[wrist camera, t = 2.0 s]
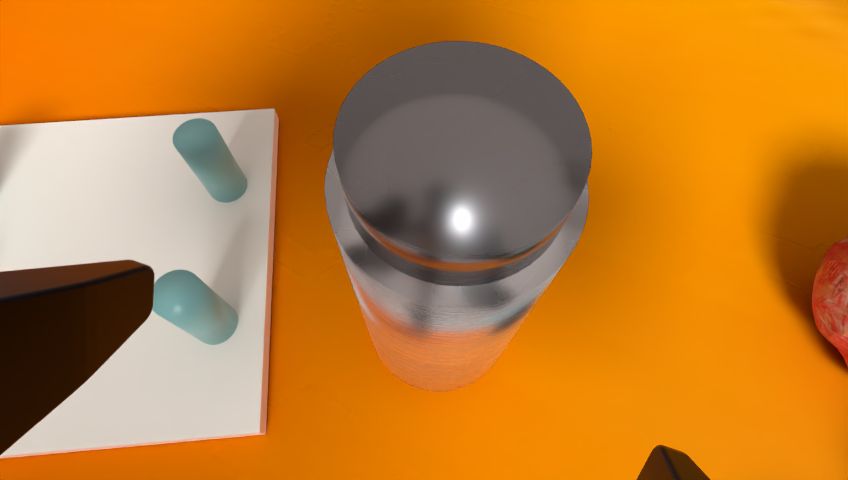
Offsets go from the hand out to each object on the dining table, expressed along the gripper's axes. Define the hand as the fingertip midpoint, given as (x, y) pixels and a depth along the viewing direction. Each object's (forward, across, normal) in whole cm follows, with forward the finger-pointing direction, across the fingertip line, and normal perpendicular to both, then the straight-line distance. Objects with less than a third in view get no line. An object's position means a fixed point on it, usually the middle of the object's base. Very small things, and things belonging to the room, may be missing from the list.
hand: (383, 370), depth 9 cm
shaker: (+10, 0, +5) cm, 11 cm away
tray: (+9, +14, +6) cm, 18 cm away
